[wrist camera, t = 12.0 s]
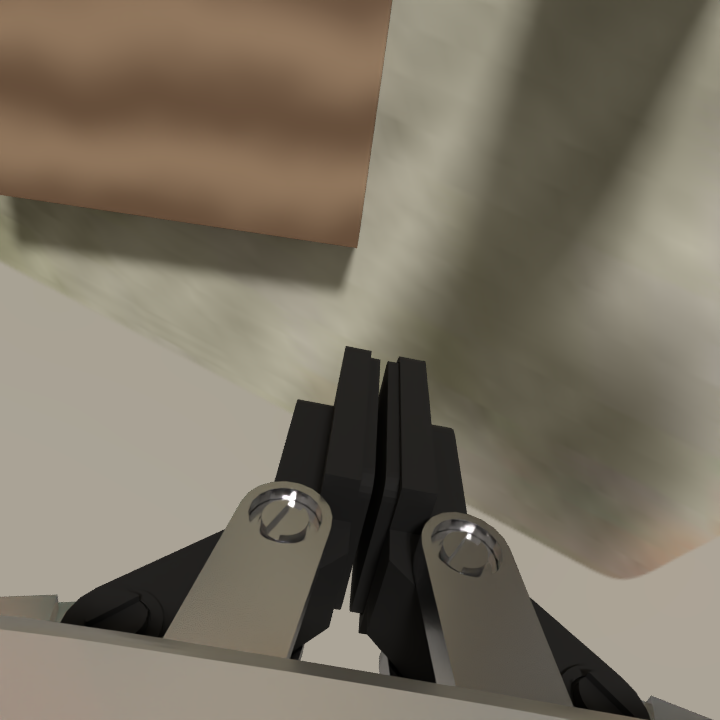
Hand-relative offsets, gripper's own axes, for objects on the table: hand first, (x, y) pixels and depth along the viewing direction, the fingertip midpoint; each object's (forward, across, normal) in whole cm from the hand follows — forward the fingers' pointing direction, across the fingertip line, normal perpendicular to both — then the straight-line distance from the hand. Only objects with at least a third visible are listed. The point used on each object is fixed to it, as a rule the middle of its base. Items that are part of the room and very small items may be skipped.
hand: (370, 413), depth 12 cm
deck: (+26, +12, -2) cm, 29 cm away
